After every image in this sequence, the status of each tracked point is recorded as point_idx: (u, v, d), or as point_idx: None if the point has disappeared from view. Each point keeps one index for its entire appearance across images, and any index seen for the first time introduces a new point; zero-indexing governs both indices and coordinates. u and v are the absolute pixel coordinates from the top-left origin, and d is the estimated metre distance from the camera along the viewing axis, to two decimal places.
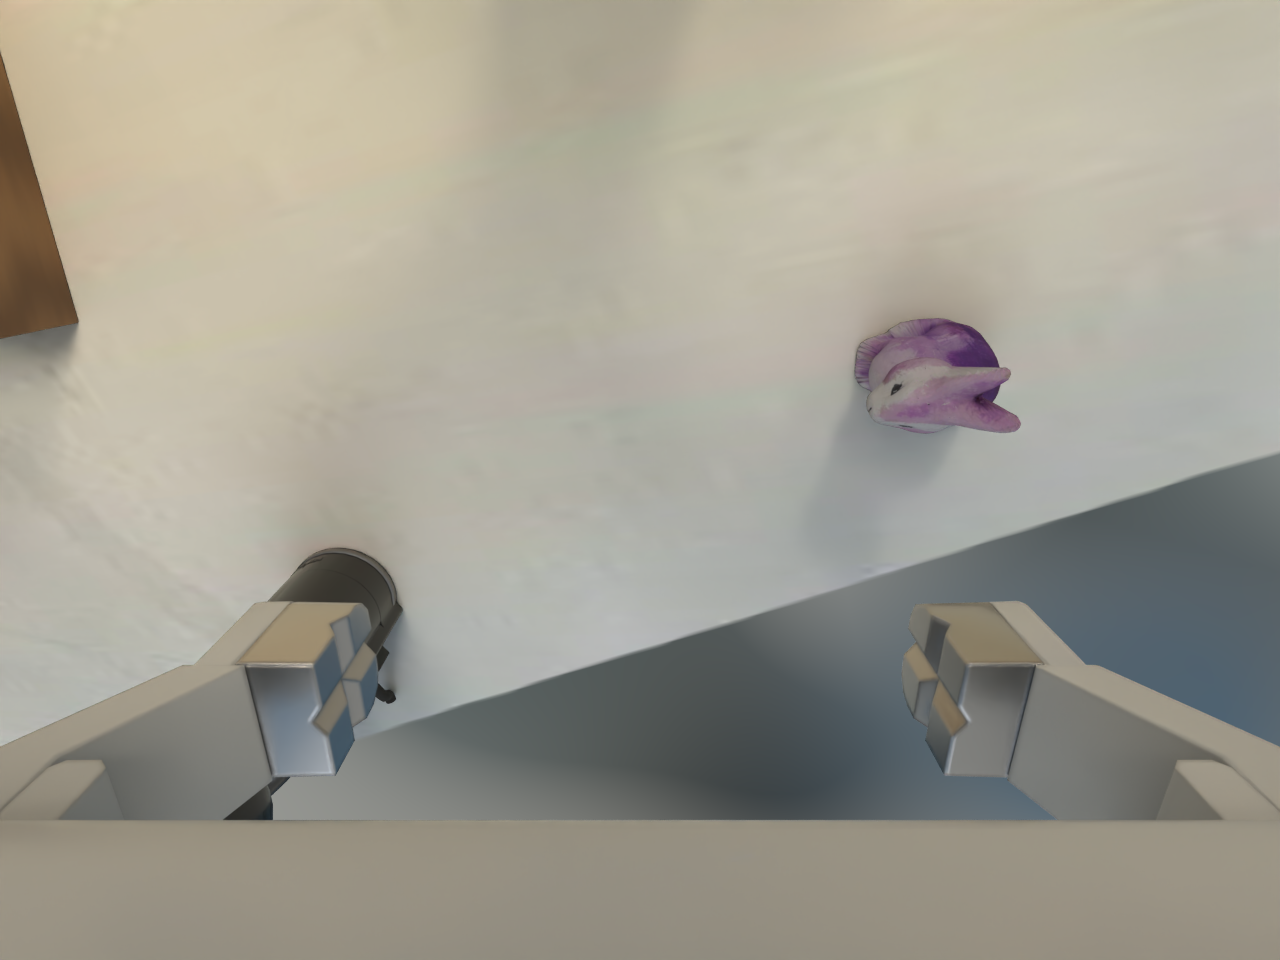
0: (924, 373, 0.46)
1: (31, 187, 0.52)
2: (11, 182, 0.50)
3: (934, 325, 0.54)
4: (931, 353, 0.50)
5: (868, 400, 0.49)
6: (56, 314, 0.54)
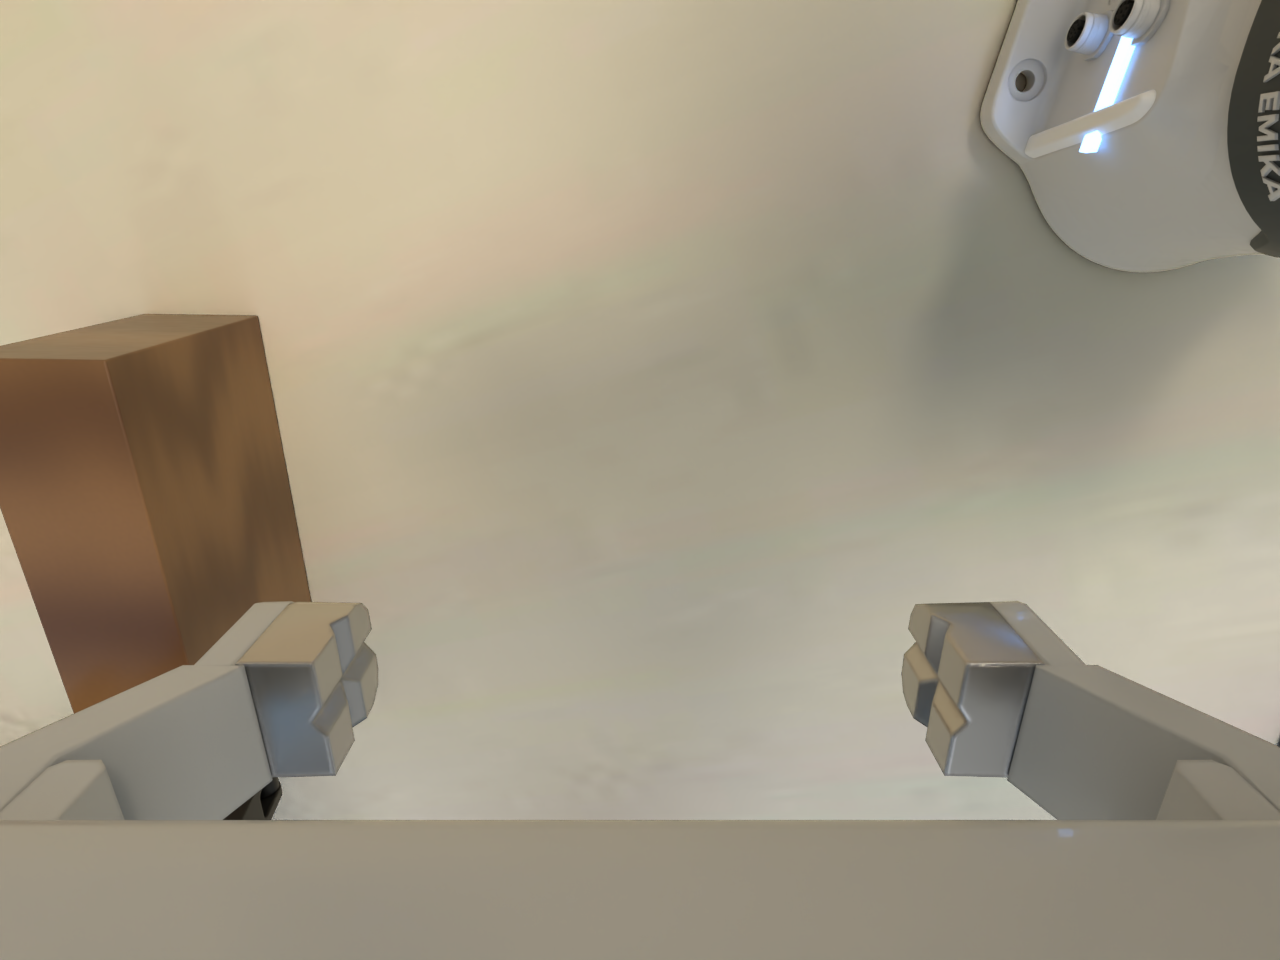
0: None
1: (294, 548, 0.41)
2: (279, 556, 0.39)
3: None
4: None
5: None
6: None
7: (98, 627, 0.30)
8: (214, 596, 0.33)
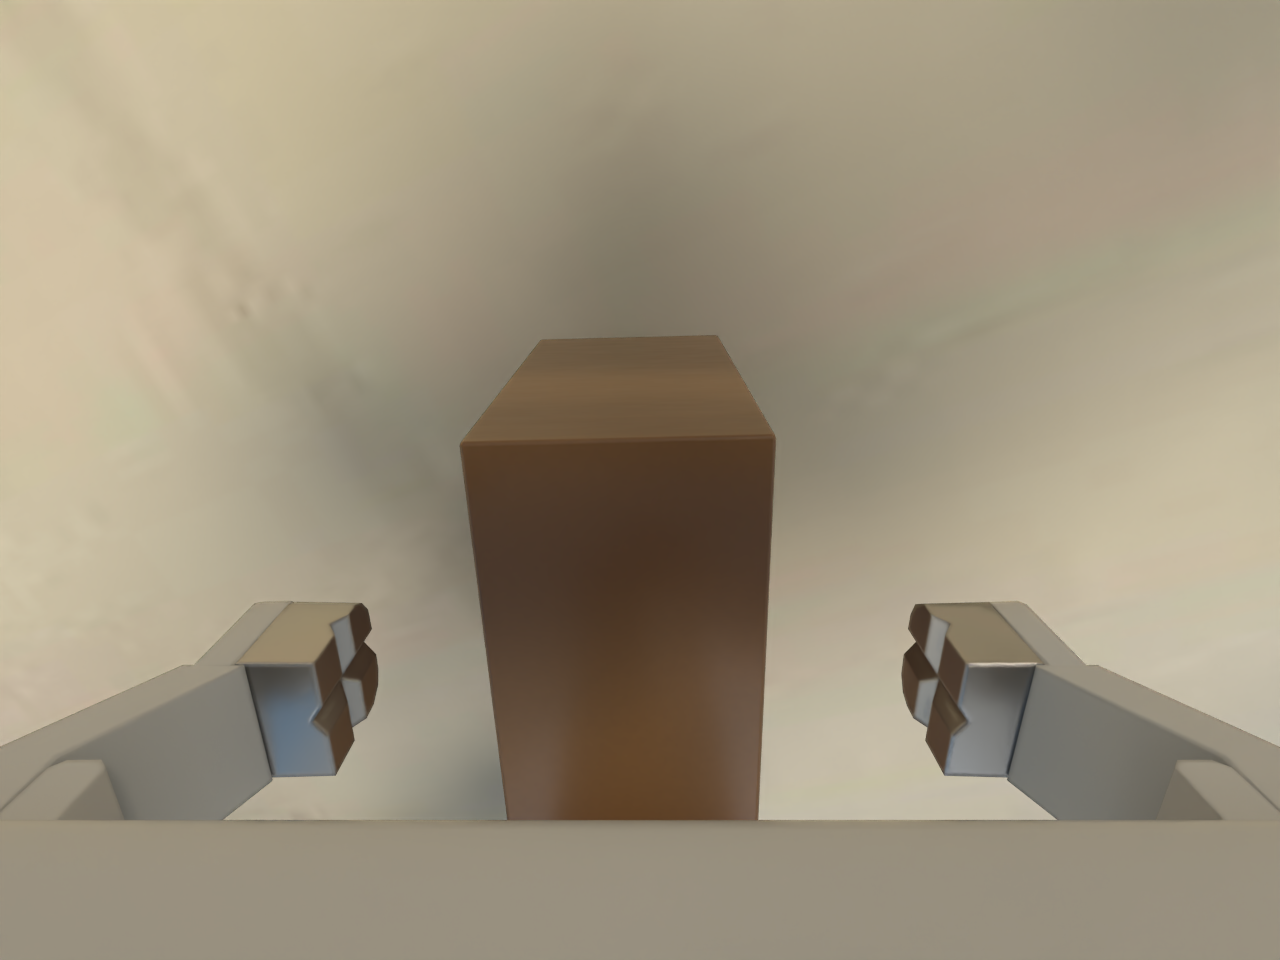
0: None
1: None
2: None
3: None
4: None
5: None
6: None
7: None
8: None
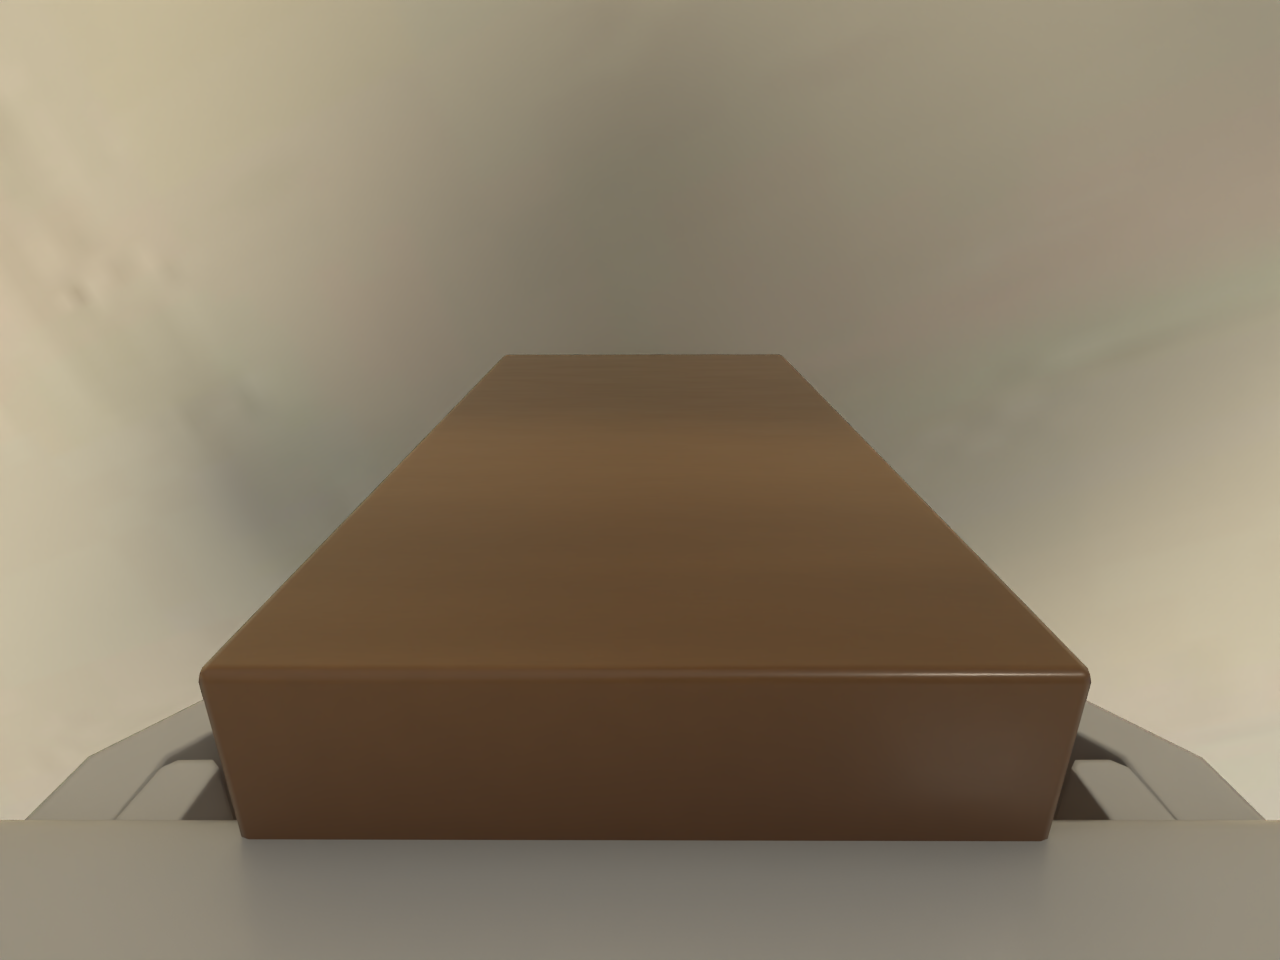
0: None
1: None
2: None
3: None
4: None
5: None
6: None
7: None
8: None
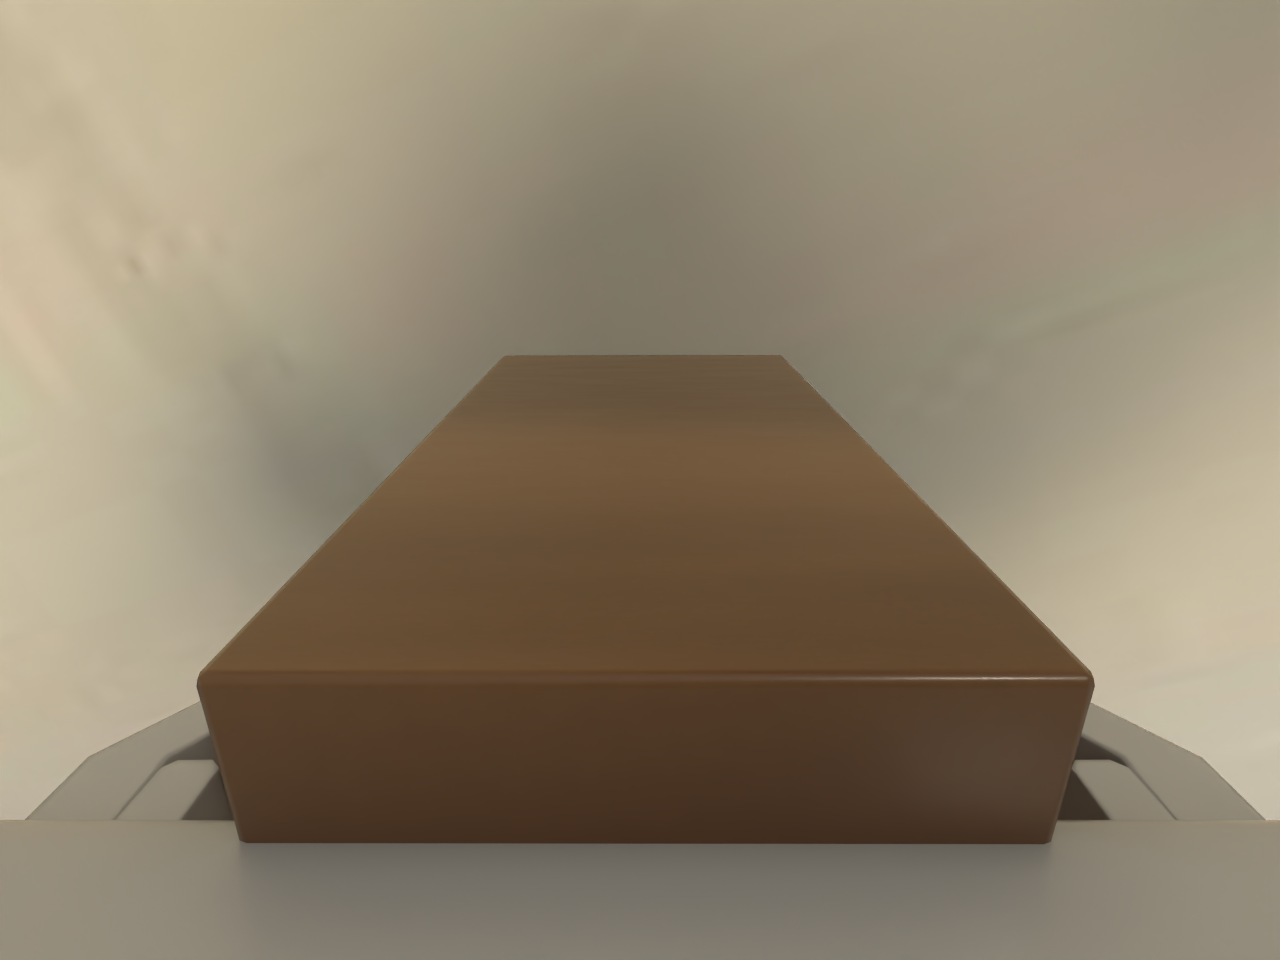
0: None
1: None
2: None
3: None
4: None
5: None
6: None
7: None
8: None
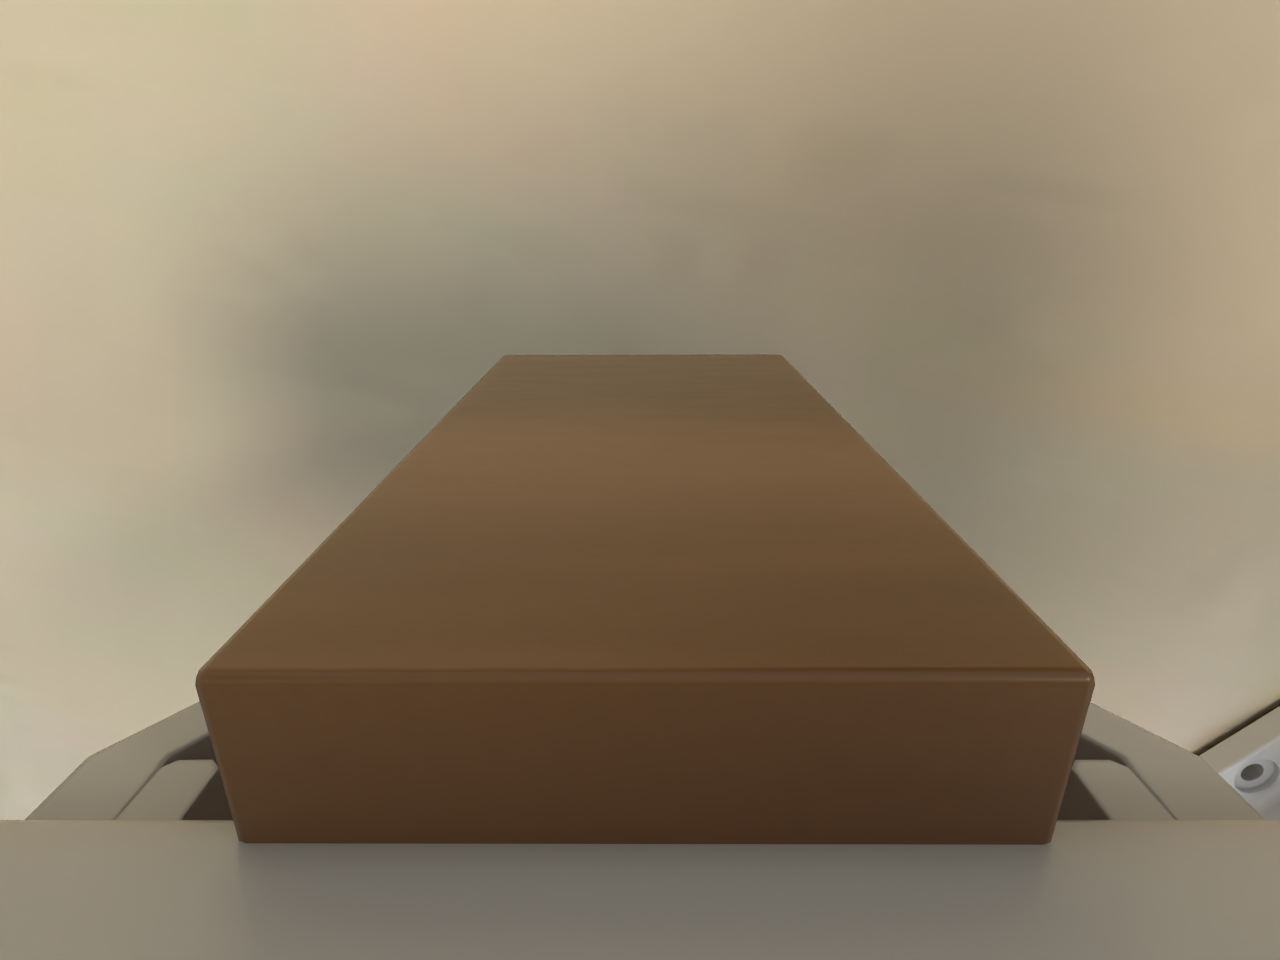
0: None
1: None
2: None
3: None
4: None
5: None
6: None
7: None
8: None
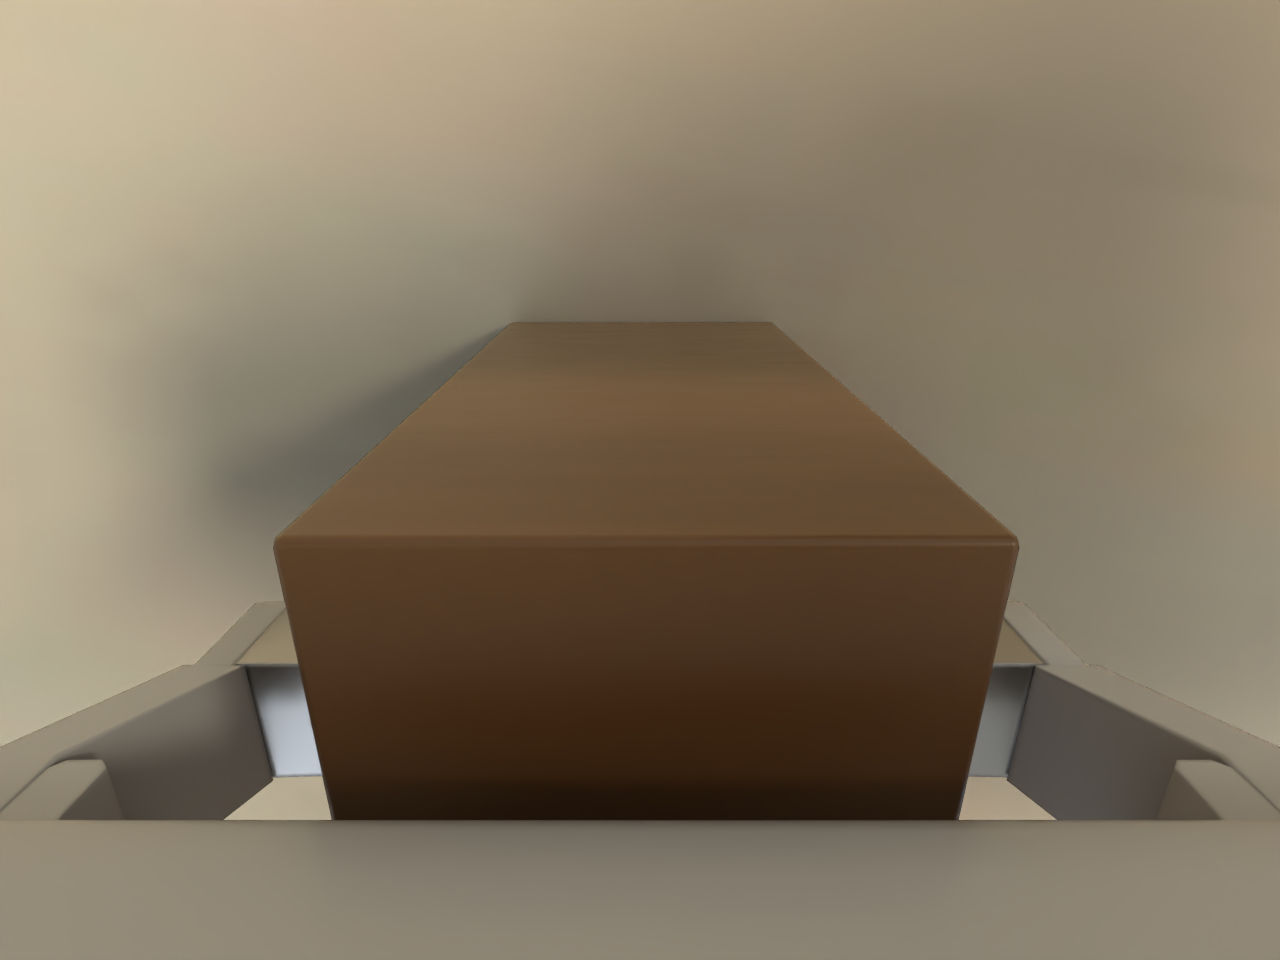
0: None
1: None
2: None
3: None
4: None
5: None
6: None
7: None
8: None
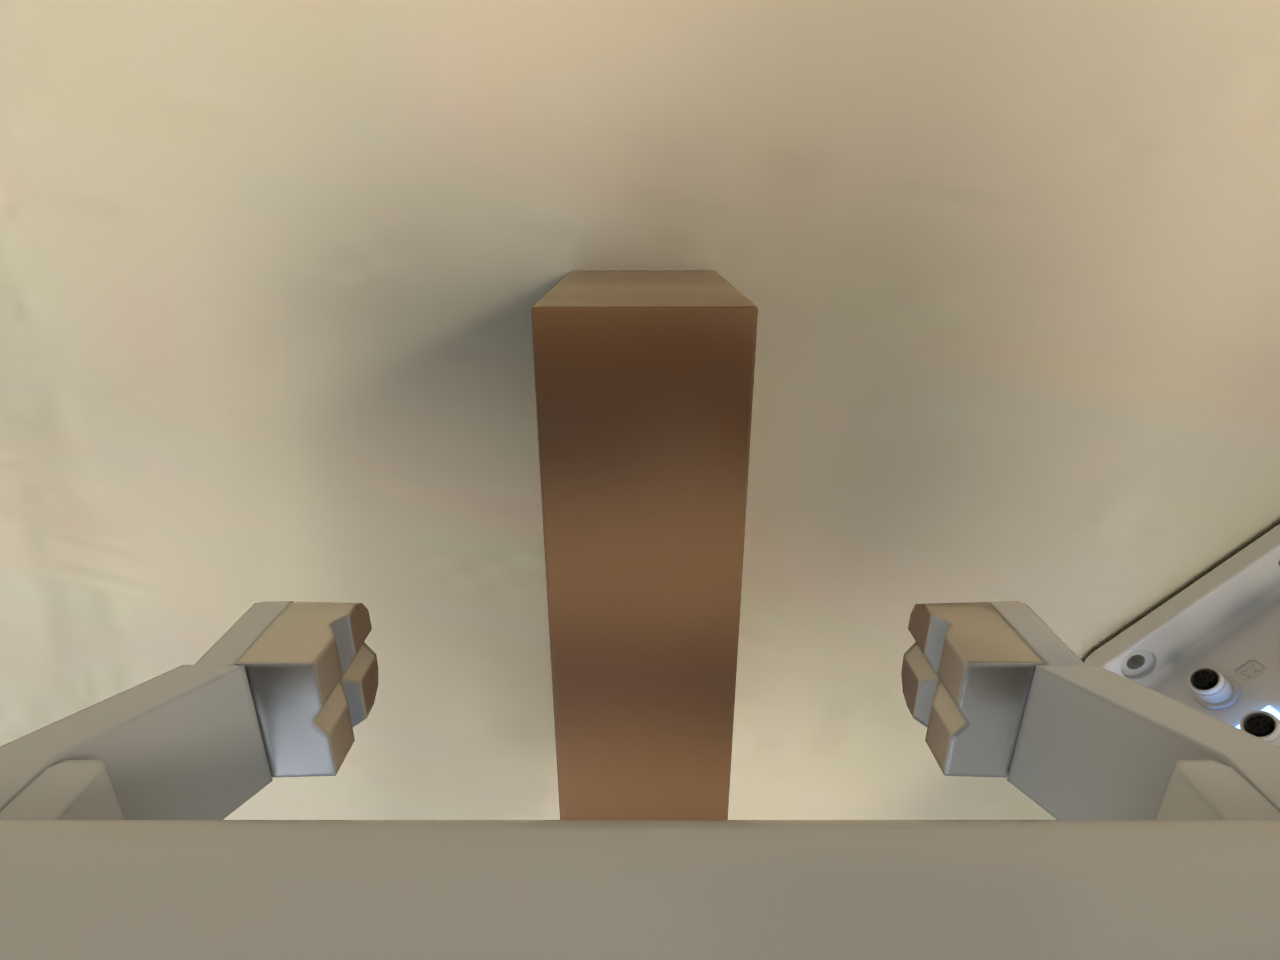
0: None
1: None
2: None
3: None
4: None
5: None
6: None
7: (627, 679, 0.23)
8: None
